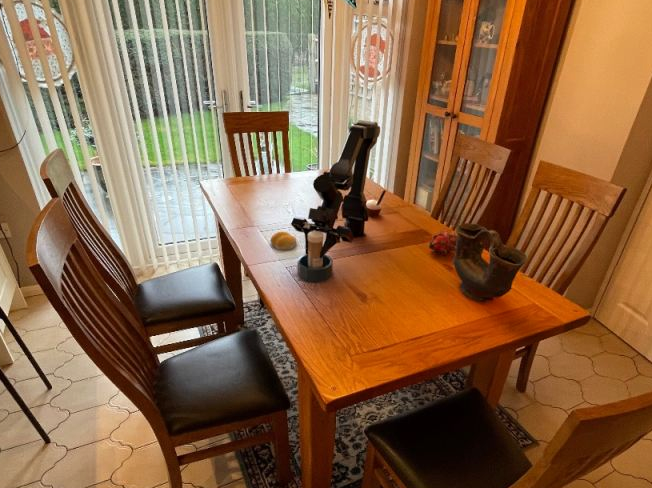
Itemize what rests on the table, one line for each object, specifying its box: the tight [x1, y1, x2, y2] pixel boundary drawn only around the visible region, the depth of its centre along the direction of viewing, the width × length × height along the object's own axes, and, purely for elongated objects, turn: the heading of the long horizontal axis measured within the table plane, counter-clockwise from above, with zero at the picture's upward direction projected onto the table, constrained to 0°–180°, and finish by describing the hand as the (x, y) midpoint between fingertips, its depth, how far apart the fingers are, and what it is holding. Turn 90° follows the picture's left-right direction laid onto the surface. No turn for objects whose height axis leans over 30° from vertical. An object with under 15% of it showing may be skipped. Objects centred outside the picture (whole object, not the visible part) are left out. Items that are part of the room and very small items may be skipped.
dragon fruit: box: [428, 230, 457, 256], centre depth 145 cm, size 8×8×12 cm
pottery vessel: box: [452, 222, 528, 304], centre depth 120 cm, size 25×11×20 cm, turn 23°
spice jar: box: [308, 231, 324, 269], centre depth 126 cm, size 5×5×13 cm
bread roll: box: [270, 230, 298, 250], centre depth 145 cm, size 8×9×4 cm
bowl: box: [296, 253, 334, 284], centre depth 129 cm, size 10×10×4 cm
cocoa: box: [366, 189, 387, 218], centre depth 170 cm, size 10×6×12 cm, turn 19°
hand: (313, 255), depth 125 cm, fingers closed on spice jar, 4 cm apart
